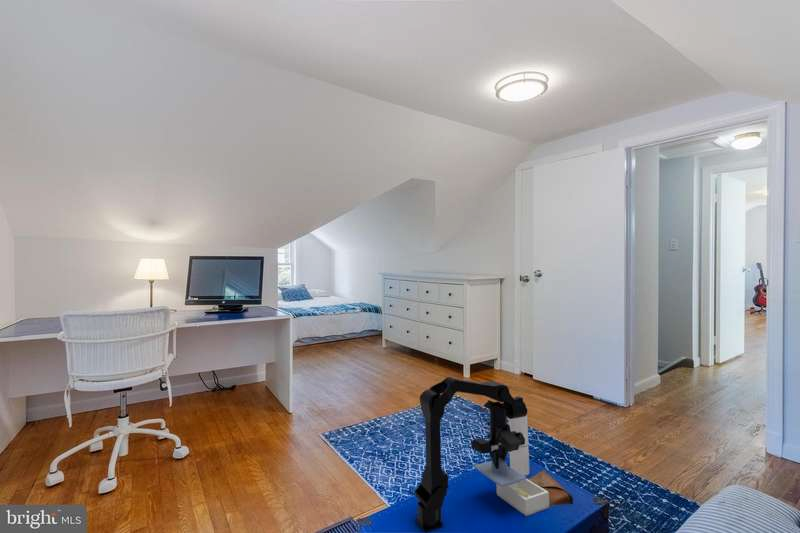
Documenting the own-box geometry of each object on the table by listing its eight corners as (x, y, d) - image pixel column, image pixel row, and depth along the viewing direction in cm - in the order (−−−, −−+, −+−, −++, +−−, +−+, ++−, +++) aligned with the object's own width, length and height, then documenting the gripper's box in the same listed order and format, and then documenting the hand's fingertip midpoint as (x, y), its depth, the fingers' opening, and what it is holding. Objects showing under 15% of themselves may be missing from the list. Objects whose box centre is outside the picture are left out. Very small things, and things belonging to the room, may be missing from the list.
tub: (526, 516, 120) (525, 499, 120) (496, 494, 133) (496, 480, 133) (549, 507, 124) (548, 491, 125) (518, 487, 137) (518, 473, 137)
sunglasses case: (523, 479, 143) (531, 462, 144) (539, 487, 143) (547, 471, 144) (550, 506, 125) (559, 487, 126) (567, 515, 126) (576, 496, 127)
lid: (501, 490, 119) (501, 471, 120) (473, 470, 132) (473, 453, 133) (526, 483, 124) (526, 464, 124) (497, 464, 137) (497, 448, 137)
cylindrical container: (527, 467, 152) (524, 403, 153) (531, 476, 145) (528, 409, 146) (508, 466, 153) (506, 403, 154) (512, 475, 146) (509, 409, 147)
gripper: (491, 433, 118) (492, 484, 117) (536, 423, 126) (537, 472, 125) (470, 421, 128) (470, 469, 127) (513, 414, 136) (513, 458, 135)
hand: (498, 467), depth 128 cm, fingers closed on lid
